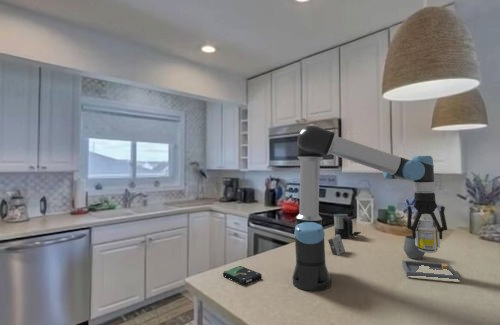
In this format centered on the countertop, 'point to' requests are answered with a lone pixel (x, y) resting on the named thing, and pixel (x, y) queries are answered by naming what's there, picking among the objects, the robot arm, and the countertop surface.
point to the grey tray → (413, 266)
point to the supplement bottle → (427, 236)
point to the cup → (412, 248)
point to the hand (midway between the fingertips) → (427, 246)
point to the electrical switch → (336, 245)
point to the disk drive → (242, 275)
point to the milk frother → (343, 226)
